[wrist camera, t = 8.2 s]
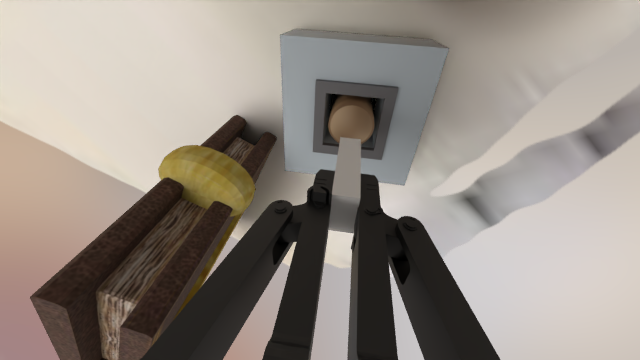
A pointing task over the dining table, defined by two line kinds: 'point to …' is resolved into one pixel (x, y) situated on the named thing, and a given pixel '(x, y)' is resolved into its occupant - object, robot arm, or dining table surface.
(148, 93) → the dining table surface
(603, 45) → the dining table surface
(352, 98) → the dowel
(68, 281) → the book
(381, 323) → the robot arm
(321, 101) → the socket block
